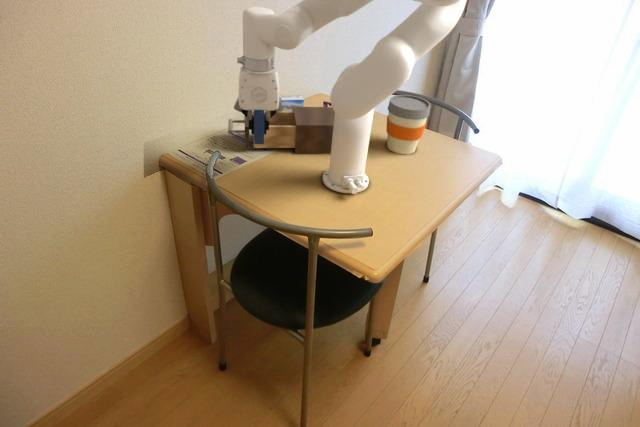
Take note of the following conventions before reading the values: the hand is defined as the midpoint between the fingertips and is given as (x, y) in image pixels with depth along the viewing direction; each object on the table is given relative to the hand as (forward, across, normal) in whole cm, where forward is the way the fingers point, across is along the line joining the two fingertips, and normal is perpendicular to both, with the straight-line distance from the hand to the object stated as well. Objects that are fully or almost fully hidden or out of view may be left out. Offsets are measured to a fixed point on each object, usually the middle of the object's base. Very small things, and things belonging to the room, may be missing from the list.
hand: (258, 131), depth 119 cm
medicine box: (+11, +11, +30) cm, 33 cm away
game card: (+11, +27, +30) cm, 42 cm away
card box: (+2, 0, 0) cm, 2 cm away
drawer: (+10, +3, +14) cm, 17 cm away
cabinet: (+10, +20, +14) cm, 27 cm away
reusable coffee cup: (+10, +45, +11) cm, 48 cm away
